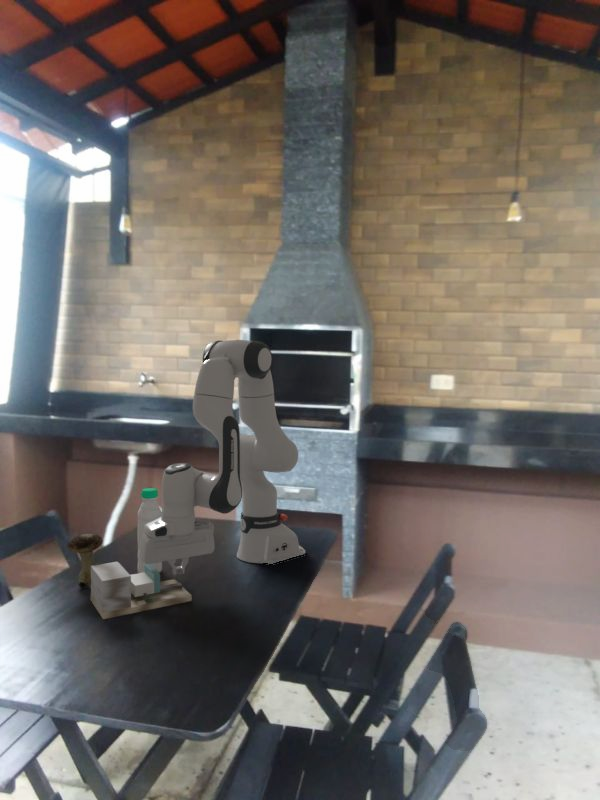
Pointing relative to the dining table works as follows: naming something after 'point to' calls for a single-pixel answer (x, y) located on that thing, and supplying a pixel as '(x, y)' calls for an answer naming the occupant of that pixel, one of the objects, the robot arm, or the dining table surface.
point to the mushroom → (85, 555)
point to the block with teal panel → (145, 582)
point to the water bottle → (145, 515)
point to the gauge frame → (129, 592)
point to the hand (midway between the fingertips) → (178, 573)
